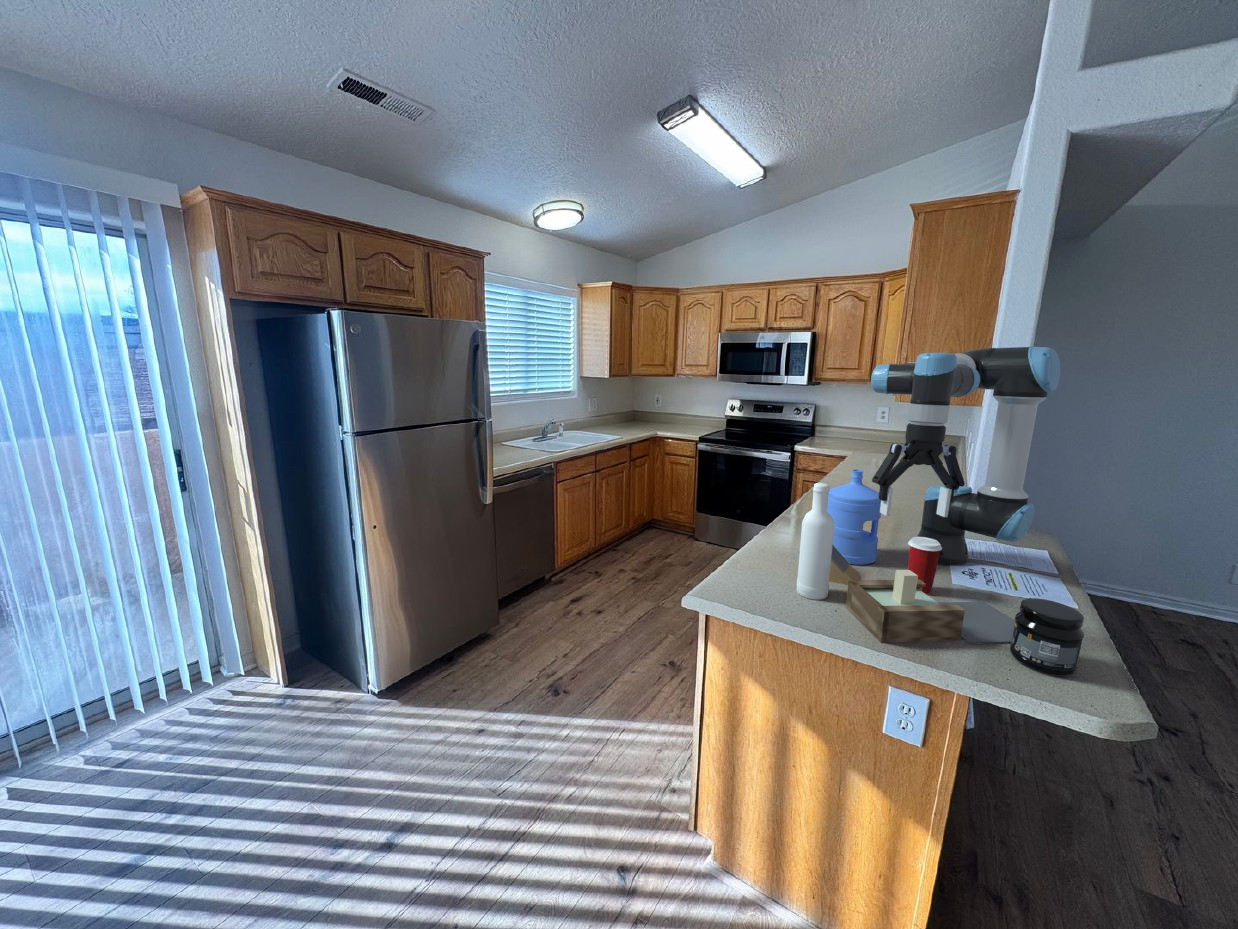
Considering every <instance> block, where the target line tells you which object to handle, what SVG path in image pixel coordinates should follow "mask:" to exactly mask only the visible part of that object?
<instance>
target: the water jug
mask: <svg viewBox="0 0 1238 929" xmlns="http://www.w3.org/2000/svg"><path fill="white" fill-rule="evenodd" d="M863 473H864V470H863V469H852V470H851V479H850V482H848V483H845V484H843V485H842V484H841V485H839V486H835V487H832V488H829V490H830V491H829V495H828V505H827V512H828V513H829V514H830V515H831V516H832V518H833V521H834V535H833V545H834V547H835V548H836V549H837V550H838V551H839V552H840V554H841V555H842V556H843V557H844V558H845V559H846V560H847V562H848V563H849V564H850V565H855V566H856V565H857V566H859V565H860V566H863V565H869V564H872V563H874V562H876V560H877V558H878V552H877V551H878V543H879V538H878V527H879V520H880V519H881V516H882V513H880V506H881V500H880V499H879V491H877V490H875V489H873V488H871V487H869V486H867V485H865V484H863V478H864V477H863ZM866 522H871V527H870V528H871V529H870V531H867V530H864V524H865V523H866Z"/></svg>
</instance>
